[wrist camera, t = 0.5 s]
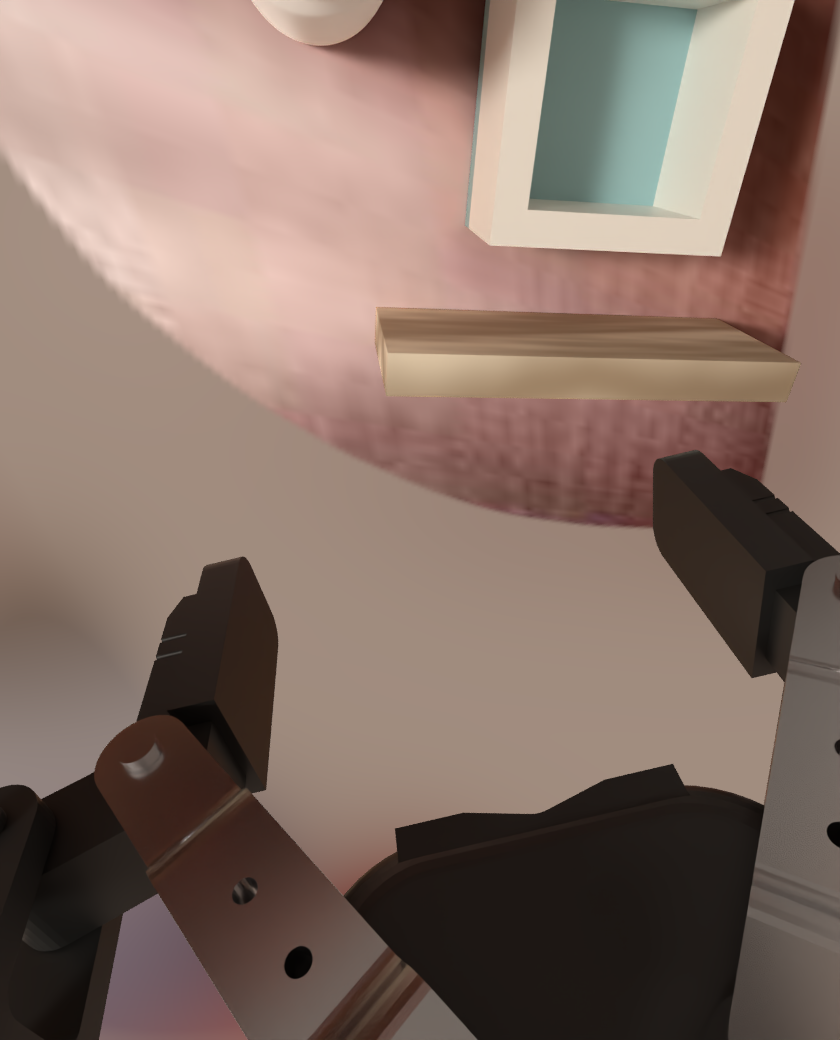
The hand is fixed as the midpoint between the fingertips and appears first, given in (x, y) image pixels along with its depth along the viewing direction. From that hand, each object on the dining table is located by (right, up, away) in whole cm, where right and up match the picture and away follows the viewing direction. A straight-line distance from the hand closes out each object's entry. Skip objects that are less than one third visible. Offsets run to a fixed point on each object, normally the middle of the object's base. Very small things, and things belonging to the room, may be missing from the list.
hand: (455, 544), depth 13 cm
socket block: (+7, +20, +19) cm, 29 cm away
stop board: (+7, +11, +25) cm, 28 cm away
